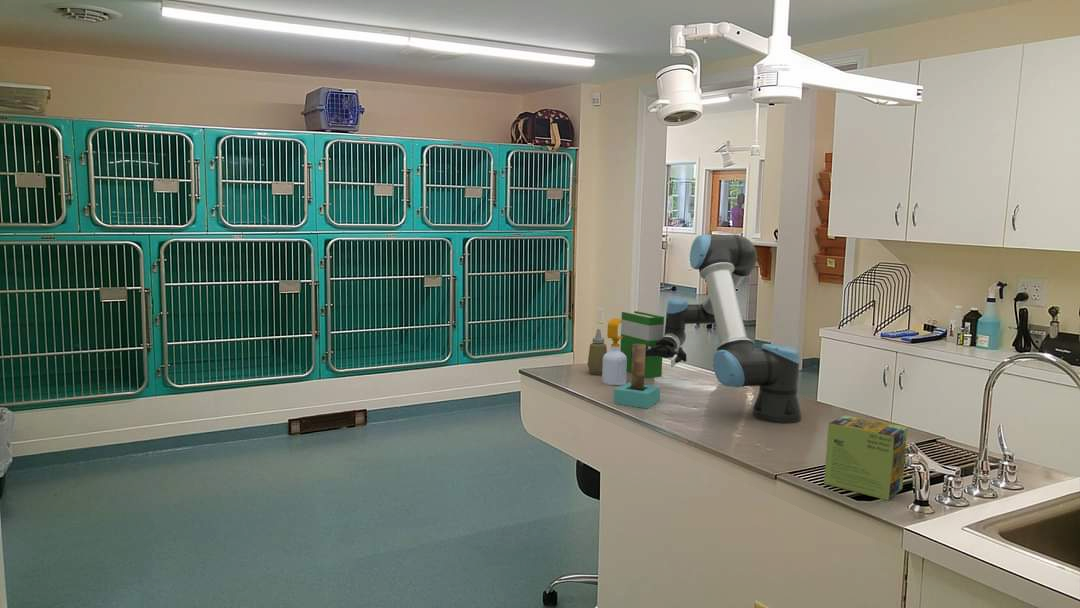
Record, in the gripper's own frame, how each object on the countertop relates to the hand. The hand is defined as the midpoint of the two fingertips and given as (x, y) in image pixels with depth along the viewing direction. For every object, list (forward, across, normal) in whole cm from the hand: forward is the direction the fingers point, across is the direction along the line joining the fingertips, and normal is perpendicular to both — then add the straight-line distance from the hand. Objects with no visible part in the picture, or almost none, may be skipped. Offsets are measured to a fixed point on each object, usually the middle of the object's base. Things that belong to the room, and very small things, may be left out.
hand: (652, 362), depth 261 cm
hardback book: (-34, +15, -16) cm, 41 cm away
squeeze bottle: (-25, +30, -15) cm, 42 cm away
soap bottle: (-13, +19, -14) cm, 27 cm away
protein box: (+61, -69, -8) cm, 92 cm away
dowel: (+10, +3, -11) cm, 16 cm away
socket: (+10, +3, -11) cm, 16 cm away
